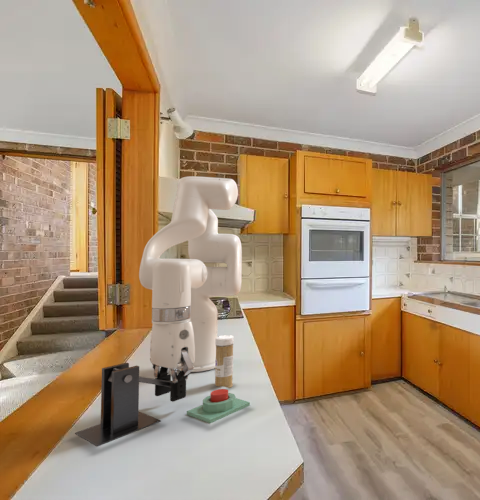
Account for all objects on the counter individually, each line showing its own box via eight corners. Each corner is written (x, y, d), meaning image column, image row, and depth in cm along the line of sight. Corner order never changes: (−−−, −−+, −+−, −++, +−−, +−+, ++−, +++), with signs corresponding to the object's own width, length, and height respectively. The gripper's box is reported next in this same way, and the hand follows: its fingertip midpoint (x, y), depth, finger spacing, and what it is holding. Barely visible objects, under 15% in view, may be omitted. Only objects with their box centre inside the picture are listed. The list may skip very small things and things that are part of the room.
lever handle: (164, 388, 79) (169, 377, 80) (177, 392, 77) (182, 381, 78) (103, 379, 69) (110, 366, 70) (116, 383, 66) (122, 370, 67)
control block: (226, 402, 83) (226, 387, 83) (249, 409, 79) (250, 394, 80) (186, 419, 75) (186, 402, 75) (210, 428, 71) (210, 410, 71)
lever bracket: (137, 416, 76) (138, 357, 76) (160, 426, 72) (162, 363, 72) (74, 438, 66) (76, 371, 67) (97, 452, 62) (98, 379, 62)
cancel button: (221, 395, 80) (221, 387, 80) (231, 398, 78) (231, 390, 78) (206, 401, 76) (206, 393, 76) (217, 404, 75) (217, 396, 75)
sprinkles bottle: (211, 387, 93) (212, 336, 93) (227, 383, 96) (228, 334, 97) (219, 391, 90) (220, 339, 90) (236, 386, 93) (237, 336, 94)
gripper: (211, 315, 77) (209, 398, 77) (166, 309, 86) (165, 384, 85) (177, 320, 71) (176, 411, 70) (133, 314, 79) (131, 394, 79)
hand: (170, 395), depth 78 cm, fingers closed on lever handle, 5 cm apart
